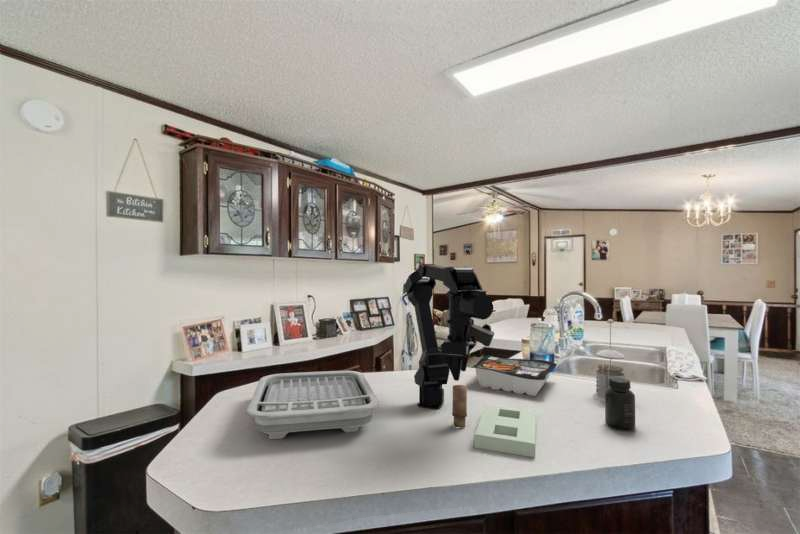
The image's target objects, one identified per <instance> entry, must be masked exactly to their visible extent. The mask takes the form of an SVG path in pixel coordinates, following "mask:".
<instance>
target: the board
mask: <svg viewBox="0 0 800 534" xmlns="http://www.w3.org/2000/svg"><path fill="white" fill-rule="evenodd" d="M536 427H537V411H536V410H529V409H523V408H514V407H507V406H500V405H493V404H492V405H491V404H485V407H484V409H483V411H482V414H481V416H480V419H479V422H478V424H477V427H476V429H475V431H474V434H473V435H474V438H473V439H474V440H473V441H474V442H473V443H474V444H473V445H474V446H473V447H474V448H476V449H480V450H488V451H493V452H499V453H504V454H505V453H506V454H512V455H519V456H524V457H530V458H536V435H537V433H536V431H537V430H536V429H537V428H536Z"/></svg>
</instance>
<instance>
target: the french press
mask: <svg viewBox="0 0 800 534" xmlns="http://www.w3.org/2000/svg"><path fill="white" fill-rule="evenodd" d="M606 322H607V324H609V349H602V350H598V351H597V352H596V353H595V355H596V356H597V357H598V358H602V359H606V360H608V359H609V364H606V362H605V361H604V360H603V363H602V364H599V365H597V368H598V369H597V370H595V372H596V373H595V374H596V376H595V378H596V384H595V387H596V388H595V390H596V391H595V393H594V394H593V395H592V398H594V399H595V400H597V401H599V402H603V403H605V391H606V389H608V388H610V386H609V378H624V379H626V378H625V372H623V371H624V368H623V367H621V366H617V365H612V362H611V360H623V359H625V358H626V356H625V355H624V354H623V353H621V352H619V351H617V350H615V349H611V348H612V346H611V345H612V324H614V323H615V321H614V319H612V318H609V319H608V320H607V321H606Z"/></svg>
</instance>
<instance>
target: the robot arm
mask: <svg viewBox="0 0 800 534" xmlns="http://www.w3.org/2000/svg"><path fill="white" fill-rule="evenodd" d="M474 270H475V269H474V268H473V267H472V266H442V265H438V264H435V263H421V264H419V266H418V268H417V269H416V270H414V271H413V272H412V273H411V274H409V275H408V277H407V279H406V281H405V283H404V291H405V294H406V297H407V299H408V301H409V303H410V304H411V305H412V306H413V307H414V310H415V311H414V312H415V316H416V317H415V319H416V324H417V328H418V334H419V340H420V346H421V352H422V353H421V355H420V358H419V361H418V369H417V371H416V372H415V374H414V376H413V377H414V378H413V379H414V383H415V384H416V385H417V386H419V387H418V388H419V389H418V390H419V396H418V398H419V399H418V400H419V401H418V403H417V407H418V408H420V407H421V408H425V409H426V408H427V409H434V410H435V409H436V410H439V409H440V408H441V407H442V405H443V404H444V402H445V389H444V388H443V385H447V384H448V380H449V375H450V373H451V375H452V378H453V381H457V382H458V381H460V377H461V372H466V370H467V366H468V362H469V357H470V353H471V351H472V350H473V349H474V348H475V347H476V346H477V343H480V344H482V345H483V346H485V347H490V345H491V344H492V341H493V339H494V336H495V332H494V330H492V327H491V325H489V324H487V323H485V324H484V325H482V326H481V325H477V324H475V320H474V319H476V320H477V319H479V320H486V319H489V318H490V317H491V315H492V314H493V312H494V304H493V301H492V299H491V298H490V297H489V296H487V290H485V289H484V290H483V286H482V284H481V283H480V280H479V278H478V276H477V274H476V272H475V271H474ZM436 280H437V281H440V282H442V284H443V286H445V287H446V288H448V289H449V290H448V291H447V292H446V294H445V297H447V298H448V318H447V319H446V322H447V325H448V335H446V337H447V339H446V340H445V341H443V343H440V347H439V344H438V340H437V336H436V330H435V326H434V320H433V315H432V310H431V303H430V302H431V300H432V297H433V295H434V293H433V292H434V291H433V290H434V288H435V287H436V284H437V283H436V282H437V281H436ZM439 348H440V349H439Z"/></svg>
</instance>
